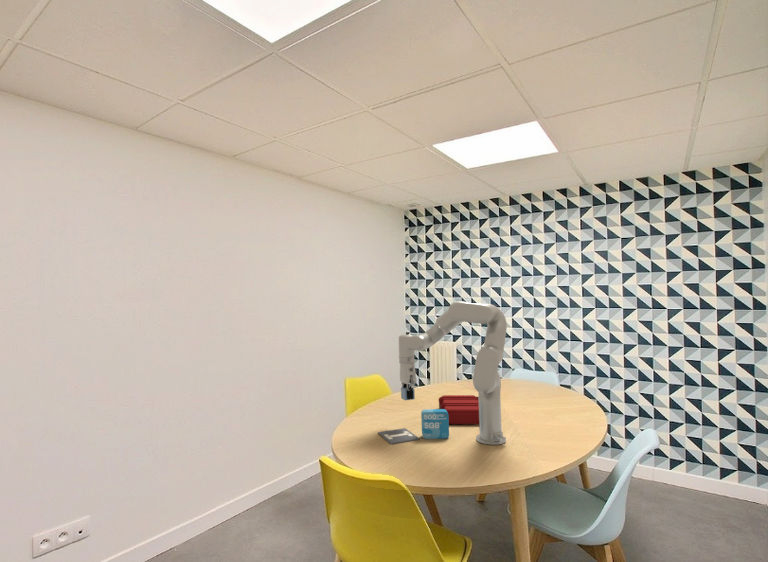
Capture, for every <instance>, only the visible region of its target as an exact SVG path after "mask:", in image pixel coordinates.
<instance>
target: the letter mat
mask: <svg viewBox="0 0 768 562" xmlns="http://www.w3.org/2000/svg"><path fill="white" fill-rule="evenodd" d="M377 434H378V435H379V434H380V435H381V438H383V439H384V440H385V441H386V442H387V443H389V445H395V444H396V445H397V444H402V443H407V442H414V441H420V437H419V436H417V435H415V434H414V433H413V432H411V431H410V430H408V429H407V428H405V427H403V428H397V429H390V430H384V431H378V432H377ZM380 435H379V436H380Z"/></svg>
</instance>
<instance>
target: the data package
mask: <svg viewBox="0 0 768 562" xmlns="http://www.w3.org/2000/svg"><path fill="white" fill-rule="evenodd" d="M420 417H421V418H420V419H421V436H422V438H423V439H424V440H425V439H426V440H434V439H435V440H442V439H444V440H445V439H448V438H449V436H450V424H449V415H448V412H447V411H446V410H445V409H439V408H437V409H436V408H435V409H434V408H433V409H432V408H431V409H429V408H428V409H426V408H425V409H422V410H421V415H420Z"/></svg>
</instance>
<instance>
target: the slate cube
mask: <svg viewBox="0 0 768 562" xmlns="http://www.w3.org/2000/svg"><path fill="white" fill-rule="evenodd" d="M413 389H414V390H413V399H407V391H408V390H407V387H405V388H402V387H400V396H401V397H400V398H401V399H402V400H403V401H411V400H415V399H416V398H415V387H414V388H413Z"/></svg>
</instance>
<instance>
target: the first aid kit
mask: <svg viewBox="0 0 768 562" xmlns="http://www.w3.org/2000/svg"><path fill="white" fill-rule="evenodd" d="M438 409H445V410H446V411H447V412H448V415H449V425H479V402H478V396H476V395H471V394H469V395H466V394H463V395H462V394H460V395H458V394H457V395H456V394H454V395H453V394H452V395H451V394H450V395H442V396H440V397H438Z"/></svg>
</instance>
